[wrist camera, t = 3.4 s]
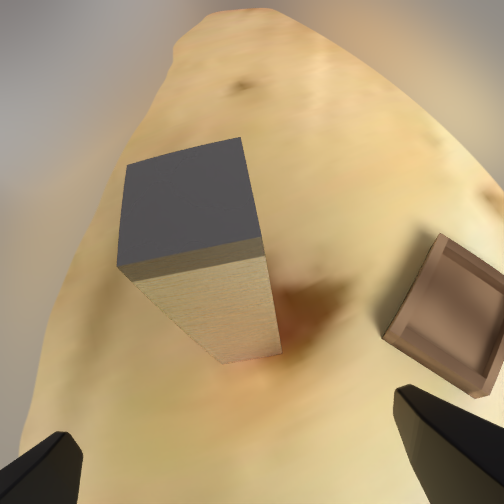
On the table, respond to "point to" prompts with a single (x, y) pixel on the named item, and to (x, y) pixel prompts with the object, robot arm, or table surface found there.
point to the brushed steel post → (200, 248)
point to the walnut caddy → (454, 318)
